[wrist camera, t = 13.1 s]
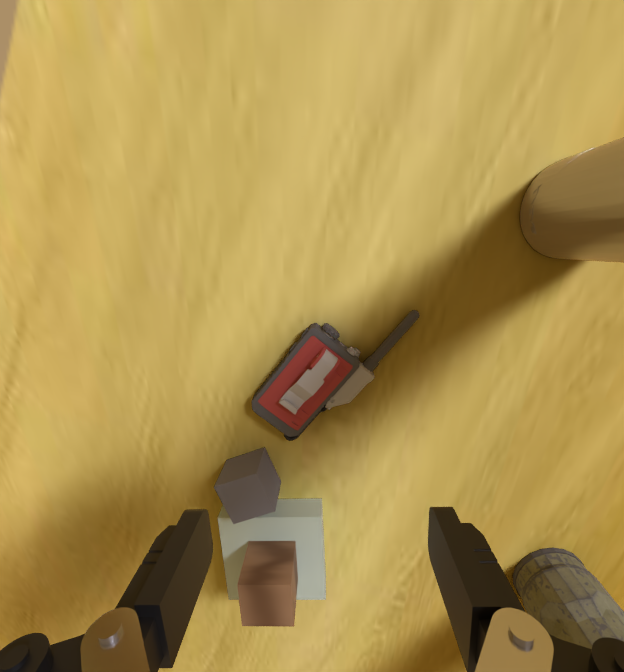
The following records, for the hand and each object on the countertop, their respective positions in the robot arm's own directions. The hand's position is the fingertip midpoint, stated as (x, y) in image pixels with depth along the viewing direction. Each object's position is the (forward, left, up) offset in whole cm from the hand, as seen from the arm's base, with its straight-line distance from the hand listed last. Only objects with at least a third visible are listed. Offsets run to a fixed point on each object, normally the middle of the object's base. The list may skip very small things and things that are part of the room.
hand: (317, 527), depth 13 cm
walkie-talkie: (-1, +3, -27) cm, 27 cm away
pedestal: (+7, +26, -26) cm, 37 cm away
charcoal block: (+9, +16, -26) cm, 32 cm away
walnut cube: (+7, +26, -23) cm, 35 cm away
